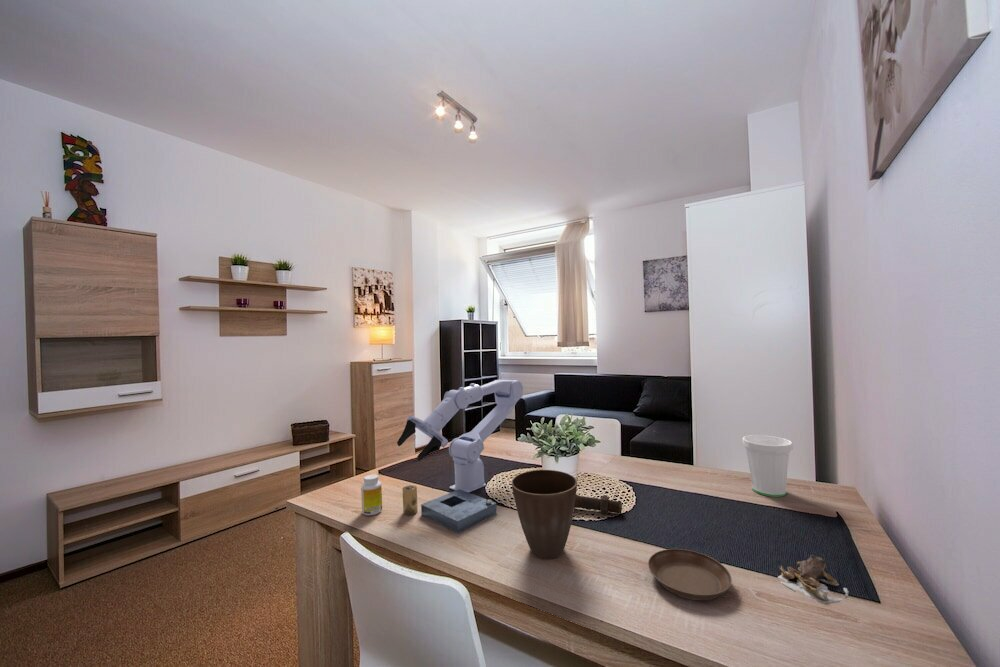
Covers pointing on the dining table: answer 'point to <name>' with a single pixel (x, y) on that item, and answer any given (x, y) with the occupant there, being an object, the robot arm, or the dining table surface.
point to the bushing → (410, 500)
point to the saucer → (689, 574)
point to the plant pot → (545, 509)
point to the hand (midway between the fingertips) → (408, 451)
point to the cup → (768, 463)
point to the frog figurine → (811, 579)
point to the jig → (458, 510)
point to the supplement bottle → (371, 495)
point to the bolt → (598, 504)
